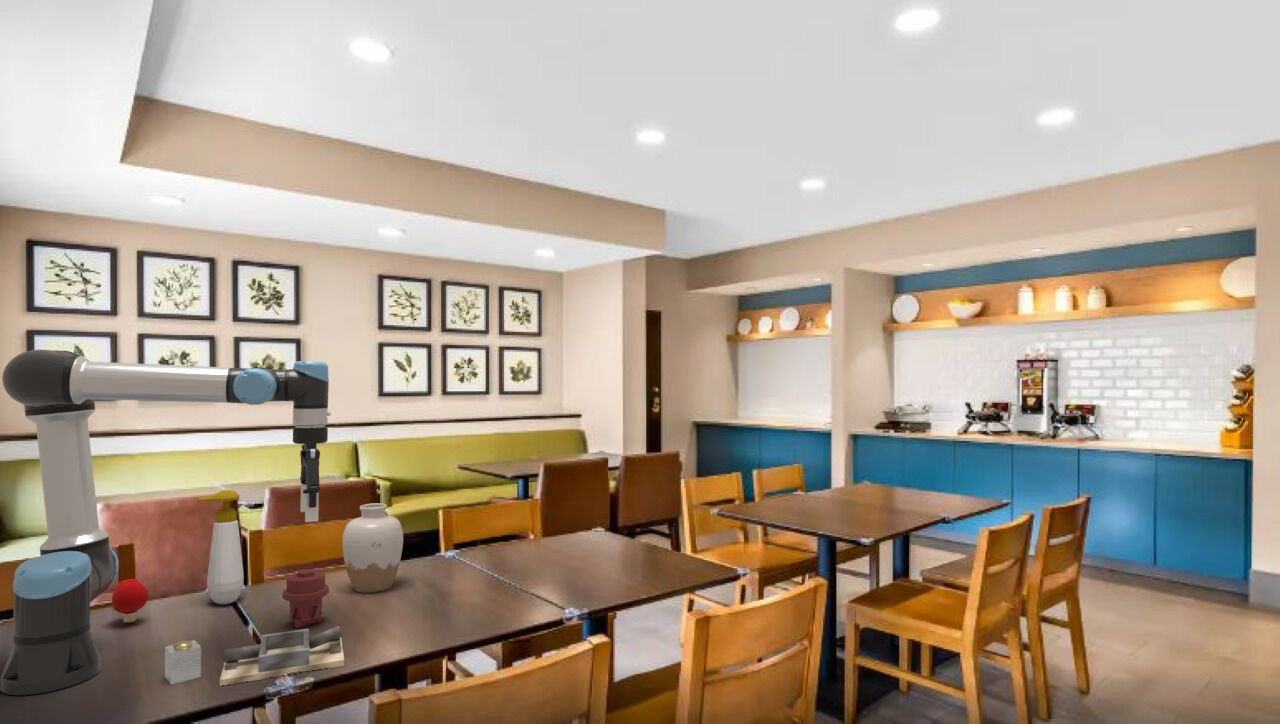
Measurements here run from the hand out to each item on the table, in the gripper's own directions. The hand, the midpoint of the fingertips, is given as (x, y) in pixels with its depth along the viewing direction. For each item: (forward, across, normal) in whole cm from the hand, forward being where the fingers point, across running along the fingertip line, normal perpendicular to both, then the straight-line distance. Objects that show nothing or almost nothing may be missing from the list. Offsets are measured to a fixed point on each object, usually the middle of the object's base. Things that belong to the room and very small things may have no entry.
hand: (309, 516), depth 169 cm
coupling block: (+26, -19, +24) cm, 40 cm away
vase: (+26, +24, -18) cm, 40 cm away
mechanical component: (+26, +3, 0) cm, 26 cm away
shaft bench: (+26, -21, +6) cm, 34 cm away
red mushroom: (+26, +23, +37) cm, 51 cm away
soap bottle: (+26, +31, +18) cm, 45 cm away
